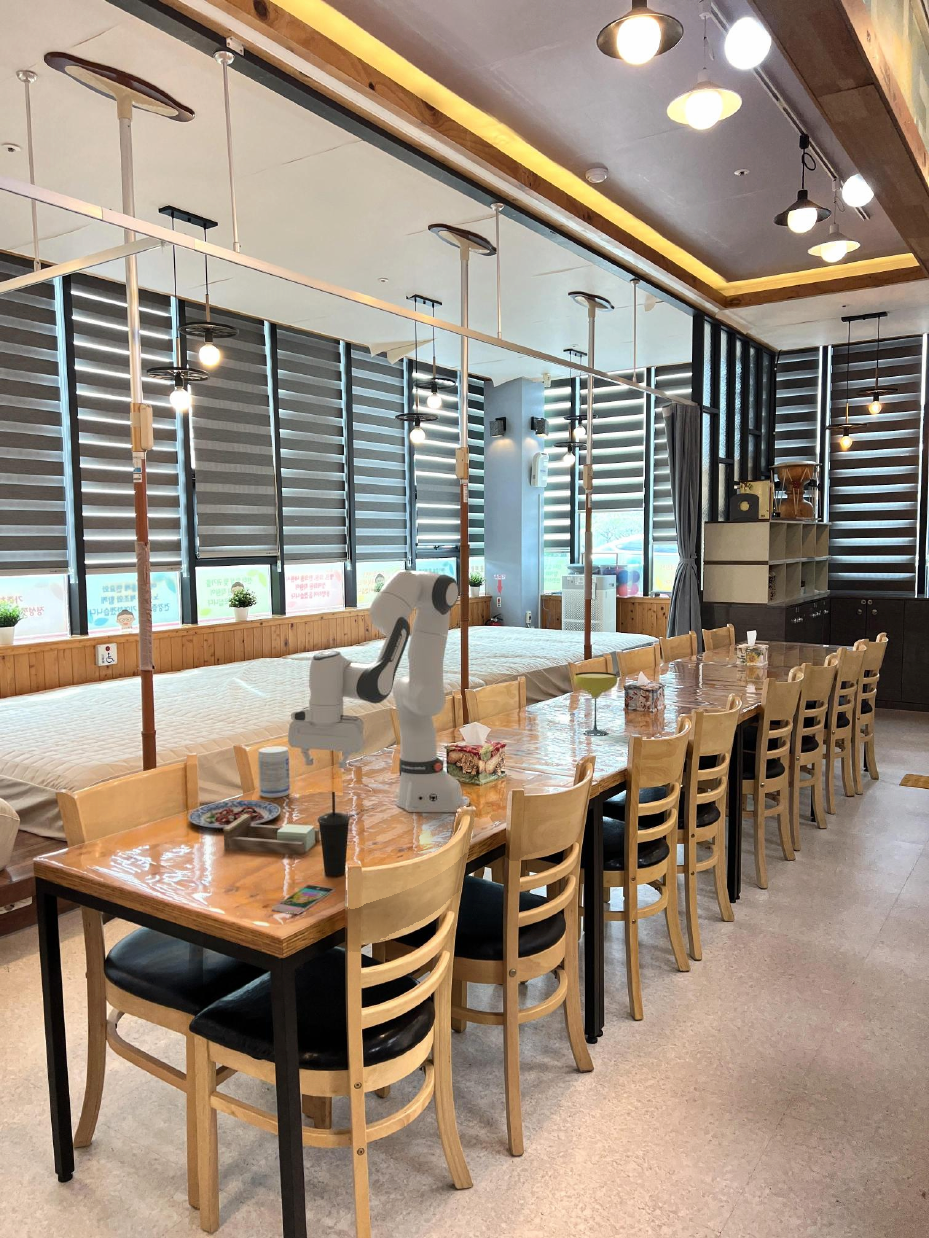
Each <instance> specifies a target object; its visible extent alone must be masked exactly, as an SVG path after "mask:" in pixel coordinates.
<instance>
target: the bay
mask: <svg viewBox="0 0 929 1238" xmlns="http://www.w3.org/2000/svg"><path fill="white" fill-rule="evenodd" d="M283 826H284V825H282V826H281V825H280V826H279V825H268V824H267V825H265V824H264V825H263V824H251V815H247V814H245V815H244V816H242V817H241V818H239V819H237V820H236V821H234V822H233V823H231V824H230V825H228V826H226V827H225V828H222V829H223V847H224V848H223V849H224V850H228V851H240V852H241V851H242V852H252V853H253V852H255V853H265V854H266V853H267V854H278V855H279V854H280V855H289V856H290V855H292V856H293V855H294V856H302V855H304V852H305V851H304V843H303V842H297V841H284V840H277V831H278V830H280V829H281V828H282V827H283ZM319 841H321V838H320V828H315V843H318V842H319Z"/></svg>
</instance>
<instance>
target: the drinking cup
mask: <svg viewBox="0 0 929 1238" xmlns="http://www.w3.org/2000/svg"><path fill="white" fill-rule="evenodd" d="M331 805H332V806H331V807H332V809H331V812H328V813H325V814H323V815H321V816H318V818H317V823H318V825H319V837H320V844H321V851H322V861H323V869H324V876H325V877H328V878H339V877H343V876H344V875H345V874H346V867H347V866H346V864H347V849H348V837H349V824H350V823H349V822H350V821H351V820H350V819H351V817H350V816H349V815H348V814H346V813H345V814H344V813H343V812H337V811H336V792H335V791H331ZM345 866H346V867H345ZM344 873H345V874H344Z"/></svg>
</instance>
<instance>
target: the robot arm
mask: <svg viewBox="0 0 929 1238" xmlns="http://www.w3.org/2000/svg"><path fill="white" fill-rule="evenodd" d="M456 580H457V579H456V578H454V577H452V576H449V575H447V574H444V573H443V574H440V573H436V572H433V571H428V570H410V569H405V568H404V569H398V570H396V571H395V572H393V574H391V576H389V578H388V579H387V580H386V582H385V583H384V584H383V585H382V587H381V588H380V590H379V591H378V593H377V594H376V596H375V598H374V599H373V601H372V603H371V604H370V607H369V611H368V612H369V619H370V621H371V624H372V625H373V626H374V627H375V628H376V630H377V631H378V632H380V634H382V635H384V636H385V641H384V643H383V645H382V648H381V651H380V653H379V655H378V657H377V660H376V661H373V662H371V663H363V662H357V661H352V660H350V659H348V658H346V657H344V656H343V655H342V654H341V652H340V651H337V650H326V651H321V652H318V653H315V654H314V655H313V656H312V658H311V662H310V666H309V675H308V677H309V679H308V684H309V685H308V686H309V690H310V696H309V700H308V706H307V707H304V708H300V709H298V710H295V711H293V712H291V714H290V719H291V720H292V721H291V722H290V723H289V726H288V733H287V743H288V745H289V746H290V747H291V748H296V749H297V748H298V749H301V750H300V751H301V752H300V753H301V754H302V756H303V759H304V763H305V766H312V765H314V757H311V756H310V752H309V751H310V750H323V751H334V752H342V756H344V757H343V758H342V759H341V760H339V761H338V769H343V770H344V769H346V768H347V761H348V760H349V758H350V756H351V754H352V753H353V754H355V753H356V754H357V753H359V752H361V751H362V750H363V749H364V747H365V741H364V733H363V732H364V721H363V720H362V719H361V718H360V717H359V716H358V715H345V714H344V699H343V698H349V699H352V700H353V699H354V700H359V701H364V702H366V703H371V704H375V705H376V704H380V703H382V702H384V701H385V700H386V699H387V698H388V697H389V695H390V694H391V692H392V695H393V696H392V697H393V699H394V701H395V707H396V708H395V709H396V715H397V720H398V726H399V734H400V757H399V761H398V772H399V777H400V778H399V786H398V787H399V789H398V794H397V798H396V800H395V804H396V806H397V807H399V808H400V809H404V810H406V812H408V813H457V812H456V811H457V809H459V808H460V807H464V806H468V807H469V805H470V804H471V803H470V798H469V797H467V796H463V790H462V786H461V784H460V782H459V781H458V780H457V779H456V778H454V777H453V776H452V775H450V774H449V773H448V772H446V771H445V770H444V761H445V759H441V758H439V757H438V744H437V743H438V741H437V740H438V739H437V738H438V737H437V736H438V734H437V729H436V727H435V725H434V720H433V717H435V716H437V715H439V714H440V713H441V712H442V711H443V710H444V708H445V706H446V703H447V700H446V699H447V697H446V694H445V693H446V692H445V690H444V658H445V654H446V653H445V652H446V649H447V648H446V647H447V642H448V641H447V640H448V636H449V629H450V620H451V619H450V618H451V617H450V616H451V615H450V614H451V613H450V612H451V610H452V609H453V608H454V606H455V605H456V604H457V602H458V599H459V594H460V591H459V590H460V589H459V584H458V582H457V581H456ZM415 609H417V610H416V612H415V616H414V619H413V623H412V626H410V625H411V624H410V622H409V621H410V620H409V619H410V617H411V615H412V613H413V612H414V610H415ZM409 637H410V638H409ZM408 642H409V643H408ZM407 644H409V645H408V649H407V650H408V651H407V660H408V669H409V670H408V672H409V673H408V675H402V676H401V677H399V678H398V679H397V680H396V681H395V678H396V677H395V676H396V673H397V670H398V667H399V665H400V663H401V660H402V657H403V655H404V652H405V650H406V647H407ZM394 681H395V682H394ZM469 803H470V804H469Z"/></svg>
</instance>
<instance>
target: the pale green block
mask: <svg viewBox="0 0 929 1238" xmlns="http://www.w3.org/2000/svg"><path fill="white" fill-rule="evenodd" d="M282 826H283V827H282V828H281V829H280V830H278V831H277V839H276V840H284V841H297V842H303V843H304V852H308V851H309V850H310V849H311V848H312V847H313V846H315V845H316V842H315V829H316V827H315V825H304V824H288V823H287V824H284V825H282Z"/></svg>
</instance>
